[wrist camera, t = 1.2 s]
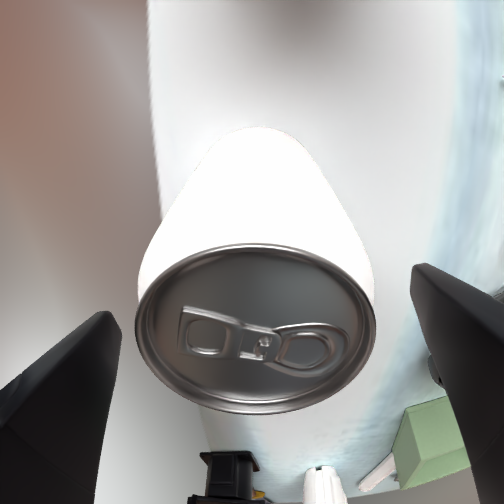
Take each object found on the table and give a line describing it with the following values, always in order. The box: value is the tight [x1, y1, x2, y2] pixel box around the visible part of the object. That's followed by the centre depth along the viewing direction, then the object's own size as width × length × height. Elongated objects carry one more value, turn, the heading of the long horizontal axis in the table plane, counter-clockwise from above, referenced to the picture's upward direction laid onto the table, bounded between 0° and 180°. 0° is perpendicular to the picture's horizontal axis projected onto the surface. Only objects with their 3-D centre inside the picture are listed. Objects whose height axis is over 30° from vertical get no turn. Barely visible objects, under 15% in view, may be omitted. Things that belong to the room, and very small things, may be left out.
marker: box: [359, 452, 396, 492], centre depth 37 cm, size 3×2×16 cm
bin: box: [392, 396, 471, 491], centre depth 28 cm, size 12×12×7 cm
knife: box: [252, 488, 273, 504], centre depth 43 cm, size 25×1×5 cm
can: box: [135, 127, 376, 415], centre depth 12 cm, size 6×6×12 cm
